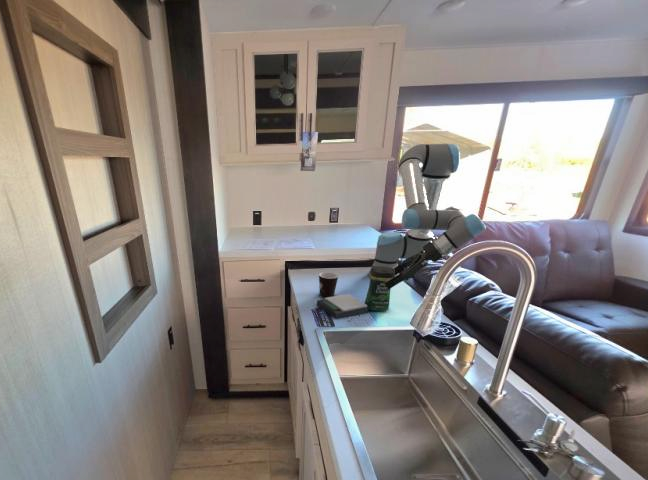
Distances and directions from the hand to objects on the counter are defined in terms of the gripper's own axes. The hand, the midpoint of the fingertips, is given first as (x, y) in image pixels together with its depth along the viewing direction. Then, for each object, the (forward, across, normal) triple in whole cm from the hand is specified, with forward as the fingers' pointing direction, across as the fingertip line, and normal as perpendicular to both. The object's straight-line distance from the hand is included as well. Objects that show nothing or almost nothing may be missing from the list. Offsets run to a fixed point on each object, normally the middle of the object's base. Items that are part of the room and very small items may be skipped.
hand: (387, 281), depth 128 cm
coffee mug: (+27, -7, -9) cm, 29 cm away
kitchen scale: (+20, +6, -2) cm, 21 cm away
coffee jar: (+11, 0, +7) cm, 13 cm away
